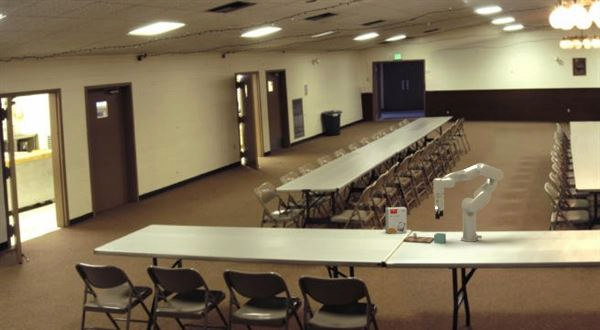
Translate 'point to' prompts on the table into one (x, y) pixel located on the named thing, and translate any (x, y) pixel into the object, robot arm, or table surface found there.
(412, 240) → the base board
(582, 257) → the table surface
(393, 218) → the hard drive box
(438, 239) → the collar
